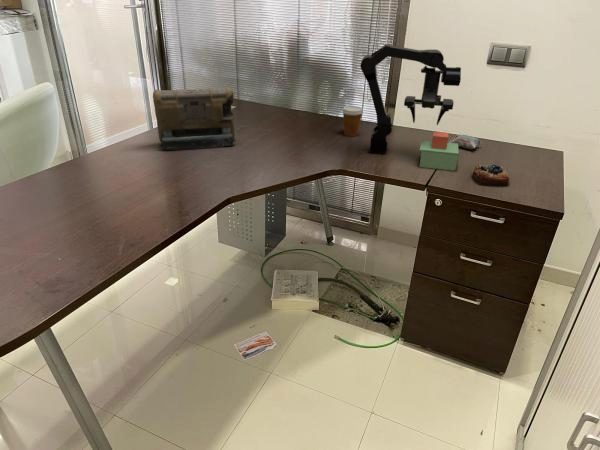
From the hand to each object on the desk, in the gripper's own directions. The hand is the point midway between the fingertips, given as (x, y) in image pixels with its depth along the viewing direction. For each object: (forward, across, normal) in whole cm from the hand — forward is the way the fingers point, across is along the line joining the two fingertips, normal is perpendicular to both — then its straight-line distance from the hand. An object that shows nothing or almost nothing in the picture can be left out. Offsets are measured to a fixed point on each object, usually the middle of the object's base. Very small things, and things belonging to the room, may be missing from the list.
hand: (425, 123), depth 184 cm
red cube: (+6, +6, -9) cm, 13 cm away
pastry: (+13, +26, -20) cm, 35 cm away
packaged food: (+13, +18, +14) cm, 26 cm away
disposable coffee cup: (+13, -33, +17) cm, 39 cm away
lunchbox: (+13, +7, -9) cm, 17 cm away
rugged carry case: (+13, -94, -18) cm, 97 cm away
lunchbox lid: (+7, +7, -9) cm, 13 cm away
